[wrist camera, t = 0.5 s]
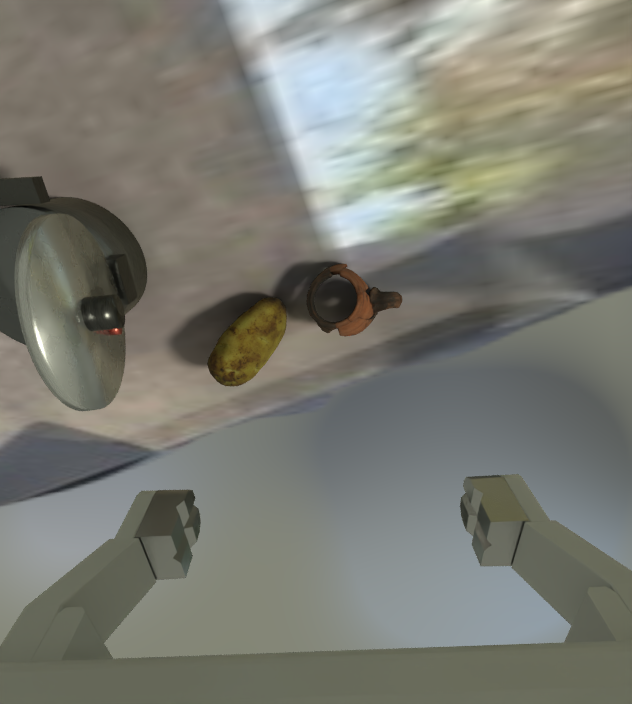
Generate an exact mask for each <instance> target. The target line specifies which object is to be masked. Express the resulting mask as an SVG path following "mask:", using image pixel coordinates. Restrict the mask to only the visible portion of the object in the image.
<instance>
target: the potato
mask: <svg viewBox="0 0 632 704" xmlns="http://www.w3.org/2000/svg"><path fill="white" fill-rule="evenodd" d="M286 319H287V315H286V308H285V305H284V304H283V303H282V302H281V301H280V300H279V299H278V298H276V297H275V298H274V297H270V298H263V299H262V300H260V301H259V302H258V303H256V304H255V305H254V306H252V307H251V308H249V310H248V311H246V312H244V313H243V314H242V315H241V316H239V317H238V319H237V320H236V321H235V322H234V323H233V324H232V325H231V326H229V328H228V329H227V330H226V331H225V332H224V333H223V334H222V335H221V337H220V338H219V340H218V342H217V344H216V346H215V348H214V350H213V351H212V353H211V355H210V357H209V359H208V368H209V371H210V373H211V375H212V376H213V377H214V378H215V379H216V380H217V382H219V383H220V384H222V385H225V386H239V385H242V384H244V383H246V382H247V381H249V380H251V379H252V378H253V377H254V376H255V375H256V374H257V373H258V371H259V370H260V369H261V368H262V367H263V366H264V365H265V364H266V362H267V361H268V359H269V358H270V356H271V355H272V354H273V352H274V351H275V349H276V348H277V346H278V344H279V343H280V341H281V339H282V337H283V335H284V333H285V330H286Z"/></svg>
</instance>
